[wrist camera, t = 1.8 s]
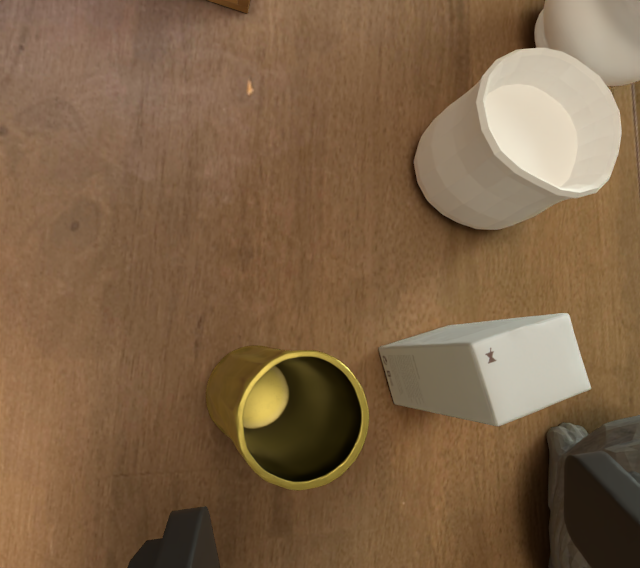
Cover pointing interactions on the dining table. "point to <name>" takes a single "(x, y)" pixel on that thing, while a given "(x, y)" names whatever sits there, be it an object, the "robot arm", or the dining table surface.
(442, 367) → the cosmetic box
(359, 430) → the vase
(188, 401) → the dining table surface
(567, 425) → the figurine
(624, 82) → the vase
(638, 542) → the robot arm
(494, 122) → the cup
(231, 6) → the holder
